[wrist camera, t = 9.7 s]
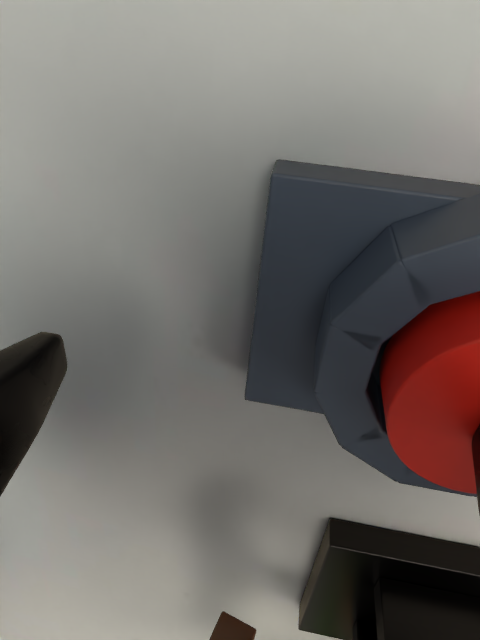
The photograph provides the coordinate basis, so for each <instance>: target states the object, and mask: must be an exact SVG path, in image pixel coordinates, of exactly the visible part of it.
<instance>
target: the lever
mask: <svg viewBox="0 0 480 640" xmlns="http://www.w3.org/2000/svg"><path fill="white" fill-rule="evenodd" d="M255 634H256V629H255V628H253V627H251V626H249V625H248V624H246V623H244V622H242V621H240V620H238V619H237V618H235V617H233V616H231V615H229V614H227V613H226V612H224V611H223V612H222V613H221V615H220V617H219V619H218V622H217V624H216V626H215V628H214V630H213V633H212V635H211V637H210V639H209V640H254V638H255Z"/></svg>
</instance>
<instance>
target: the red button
mask: <svg viewBox="0 0 480 640" xmlns="http://www.w3.org/2000/svg"><path fill="white" fill-rule="evenodd" d="M379 376H380V385H381V392H382V400H383V407H384V415H385V422H386V429H387V435H388V438H389V442H390V444H391V446H392V448H393V450H394V452H395V453H396V454H397V456H398V457H399V458H400V460H401V461H402V462H403V463H404V464H405V465H406V466H407V467H408V468H409V469H411V470H412V471H413V472H415V473H416V474H418V475H419V476H421V477H423V478H424V479H426V480H428V481H430V482H432V483H435V484H437V485H439V486H442V487H446V488H449V489H452V490H456V491H460V492H465V493H472V494H477V491H476V482H475V473H474V465H473V456H472V446H471V444H472V438H473V435H474V433H475V431H476V429H477V428H478V426H479V424H480V291H479V292H475V293H472V294H468V295H464V296H461V297H457V298H453V299H449V300H446V301H442V302H438V303H435V304H431V305H429V306H428V307H427V308H426V309H424V310H423V311H422V312H421V313H420V314H418V315H417V316H416V317H415V318H413V319H412V320H411V321H410V322H408V323H407V324H406V325H405V326H404V327H402V328H401V329H400V330H399V331H397V332H396V333H395V334H394V335H393V336H392V337H391V339H390V340H389V342H388V344H387V345H386V348H385V350H384V352H383V355H382V359H381V363H380V372H379Z"/></svg>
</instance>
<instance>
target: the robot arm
mask: <svg viewBox="0 0 480 640" xmlns="http://www.w3.org/2000/svg"><path fill="white" fill-rule="evenodd" d="M66 371H67V359H66V353H65V348H64V343H63V339H62V337H61V336H60V335H58V334H54V333H48V332H40V333H37V334H35V335H33V336H31V337H29V338H27V339H25V340H22V341H20V342H18V343H16V344H14V345H12V346H9V347H7V348H5V349H3V350H1V351H0V496H1V494H2V493H3V491H4V489H5V488H6V486H7V484H8V483H9V481H10V479H11V478H12V476H13V474H14V473H15V471H16V469H17V468H18V466H19V464H20V463H21V461H22V459H23V458H24V456H25V454H26V453H27V451H28V450H29V448H30V446H31V445H32V443H33V441H34V439H35V438H36V436H37V434H38V432H39V430H40V428H41V426H42V424H43V422H44V420H45V418H46V416H47V413H48V411H49V409H50V407H51V405H52V403H53V400H54V398H55V396H56V394H57V392H58V389H59V387H60V385H61V383H62V381H63V379H64V376H65V374H66ZM471 446H472V456H473V465H474V473H475V482H476V491H477V499H478V508H479V514H480V424H479V426H478V428H477V429H476V431H475V433H474V435H473V438H472V444H471Z"/></svg>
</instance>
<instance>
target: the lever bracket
mask: <svg viewBox="0 0 480 640" xmlns="http://www.w3.org/2000/svg"><path fill="white" fill-rule="evenodd" d="M299 630H302V631H307V632H311V633H316V634H320V635H325V636H329V637H334V638H338V639H343V640H480V548H478V547H473V546H468V545H463V544H458V543H453V542H447V541H442V540H437V539H432V538H427V537H422V536H417V535H412V534H407V533H402V532H397V531H392V530H386V529H381V528H376V527H371V526H366V525H361V524H356V523H351V522H346V521H341V520H336V519H330V520H329V523H328V526H327V528H326V531H325V534H324V537H323V540H322V543H321V546H320V548H319V551H318V554H317V557H316V560H315V563H314V566H313V568H312V571H311V574H310V577H309V580H308V583H307V586H306V589H305V591H304V594H303V597H302V600H301V603H300V608H299Z"/></svg>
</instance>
